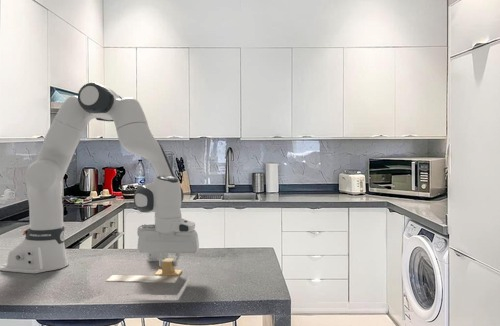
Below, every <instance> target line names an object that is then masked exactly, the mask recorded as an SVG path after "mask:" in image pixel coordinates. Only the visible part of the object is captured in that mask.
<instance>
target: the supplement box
mask: <svg viewBox="0 0 500 326" xmlns="http://www.w3.org/2000/svg"><path fill="white" fill-rule="evenodd" d="M168 255H169V253H161V255H160V256H161V258H162V260H164V259H165V258H168V257H169V256H168ZM146 259H147V262H159V261H158V259H157V257H156V253H146Z"/></svg>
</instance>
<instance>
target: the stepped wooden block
mask: <svg viewBox="0 0 500 326" xmlns="http://www.w3.org/2000/svg"><path fill="white" fill-rule="evenodd" d="M173 260H175V258H171V257H169V258H165V259H164V261H163V262H162V266H161V269H159V268H158V270H157V271H156V272H155V273H154V275H159V276H179V277H180V276H181V273H182V272H183V269H175V266H172V261H173Z"/></svg>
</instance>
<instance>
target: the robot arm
mask: <svg viewBox="0 0 500 326" xmlns="http://www.w3.org/2000/svg"><path fill="white" fill-rule="evenodd" d="M77 93H78V94H77V95H70V96H69V97H67V98H66V99H65V101H64V102H63V103H62V104H61V106H60V107H59V109H58V111H57V113H56V114H55V116H54V118H53V120H52V122H51V124H50V127H49V129H48V131H47V133H46V134H45V136H44V140H43V142H42V145H41V148H40V150H39V153H38V155H37V158H36V160H35V161H33V162H31V163H30V164H29V165H28V166H27V168H26V170H25V184H26V185H25V186H26V192H27V200H28V201H27V202H28V207H29V210H28V211H29V212H28V213H29V228H28V229H26V230H24V231H23V232H22V235H23V236H25V237H24V239H23V240H22V241H21V242H19V243H18V244H17V245H15V246H14V247H12V248H11V250H10V251H9V252H8V256H7V262H5V263H3V264H2V265H0V271H3V272H11V273H12V272H13V273H24V274H40V273H43V272H49V271H56V270H59V269H63V268H65V267H67V266H69V261H68V258H67V257H68V256H67V253H66V247H65V241H66V239H65V238H66V232H65V226H64V205H63V197H62V186H61V182H62V181H63V179H64V177H65V174H66V173H67V170H68V169H69V166H70V163H71V161H72V159H73V157H74V154H75V151H76V150H77V147H78V145H79V143H80V141H81V139H82V138H83V134H84V133H85V130H86V129H87V126H88V124H89V122H91V121H92V120H93V119H95V120H97V121H102V122H114V126H115V131H116V134H117V138H118V141H119V143H120V145H121V147H122V148H123V149H124V150H125V151H127V152H128V153H130V154H133V155H136V156H139V157H141V158H144V159H146V160H147V161H148V162H149V164H151V165H152V167H153V169H154V172H155V174H156V177H155V178H154V180H153V181H151V182H149V183H146V184H144V185H141V186H138V187H137V188H136V190H135V192H134V194H133V203H134V207H135V208H136V210H138V211H139V213H146V214H149V213H151V214H152V213H154V224H141V225H139V226H138V228H137V232H136V233H137V237H138V239H137V251H138V252H139V253H140V254H141V253H142V254H143V253H144V254H147V253H156V257H157V259H158V261H157V262H158V265H159V267H162V262H163V261H164V260H162V258H161V256H160V255H161V253H168V254H175V257H176V258H175V259H174V260H173V261H172V266H174V267H178V264H179V260H180V257H181V256H182V254H196V253H198V251H199V250H200V241H199V236H198V232H197V231H196V230H195V228H196V223H195V222H193V221H191V220H187V219H186V218H185V219H184V218H182V211H181V206H182V204H183V201H184V191H183V188H182V187H181V182H180V180H179V178H177V177H175V174H174V171H173V169H172V166H171V164H170V162H169V160H168V157H167V155H166V153H165V149H164V148H163V146H162V144H161V143H160V142H158V141H157V139H156V138H155V137H154V135H153V134H152V132H151V130H150V127H149V124H148V121H147V117H146V115H145V112H144V110H143V107H142V105H141V103H140V102H139V101H138V100H137V99H135V98H133V97H124V98H123V97H122V96H120V95H118V94H117V92H115V91H114V90H112V89H110V88H107V87H106V86H104V85H102V84H101V83H97V82H89V83H86V84H84V85H82V86H81V88H80V89H79V91H78V92H77Z"/></svg>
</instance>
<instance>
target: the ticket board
mask: <svg viewBox="0 0 500 326" xmlns="http://www.w3.org/2000/svg"><path fill="white" fill-rule="evenodd" d="M179 278H180V275H179V276H159V275H151V274H150V275H149V274H145V275H143V274H112V275H110V277H108V278H107V279H106V280H105V282H112V283H113V282H114V283H115V282H116V283H154V284H155V283H156V284H157V283H158V284H160V283H161V284H163V283H164V284H175V283H176V282H177V280H178V279H179Z"/></svg>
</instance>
